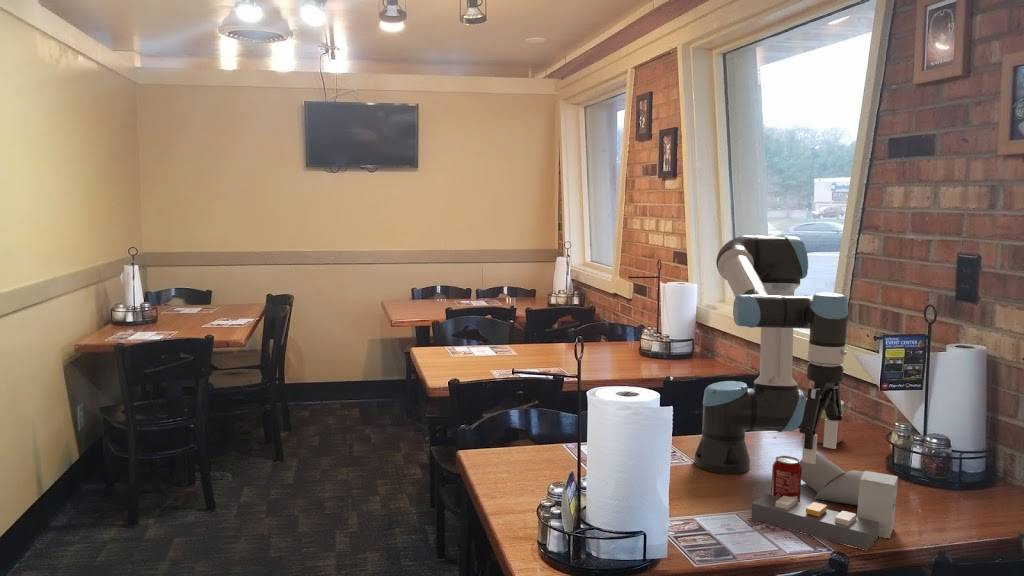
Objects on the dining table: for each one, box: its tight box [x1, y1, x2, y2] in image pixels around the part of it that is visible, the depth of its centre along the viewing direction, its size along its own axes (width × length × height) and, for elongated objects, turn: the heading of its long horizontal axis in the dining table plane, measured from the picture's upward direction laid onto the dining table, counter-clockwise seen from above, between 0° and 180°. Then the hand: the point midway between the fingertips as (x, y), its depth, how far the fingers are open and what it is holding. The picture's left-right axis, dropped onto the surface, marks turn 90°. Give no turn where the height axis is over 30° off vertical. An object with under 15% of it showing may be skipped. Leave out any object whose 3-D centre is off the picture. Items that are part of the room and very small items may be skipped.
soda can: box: [770, 455, 802, 502], centre depth 199 cm, size 7×7×12 cm
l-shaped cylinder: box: [799, 453, 864, 507], centre depth 207 cm, size 18×10×20 cm
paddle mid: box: [806, 501, 828, 517], centre depth 185 cm, size 3×5×1 cm, turn 141°
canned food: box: [802, 397, 845, 444], centre depth 256 cm, size 11×11×12 cm
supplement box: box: [856, 470, 899, 540], centre depth 185 cm, size 7×7×13 cm
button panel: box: [750, 493, 879, 551], centre depth 186 cm, size 26×8×5 cm, turn 50°
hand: (819, 454), depth 184 cm, fingers open, 13 cm apart
